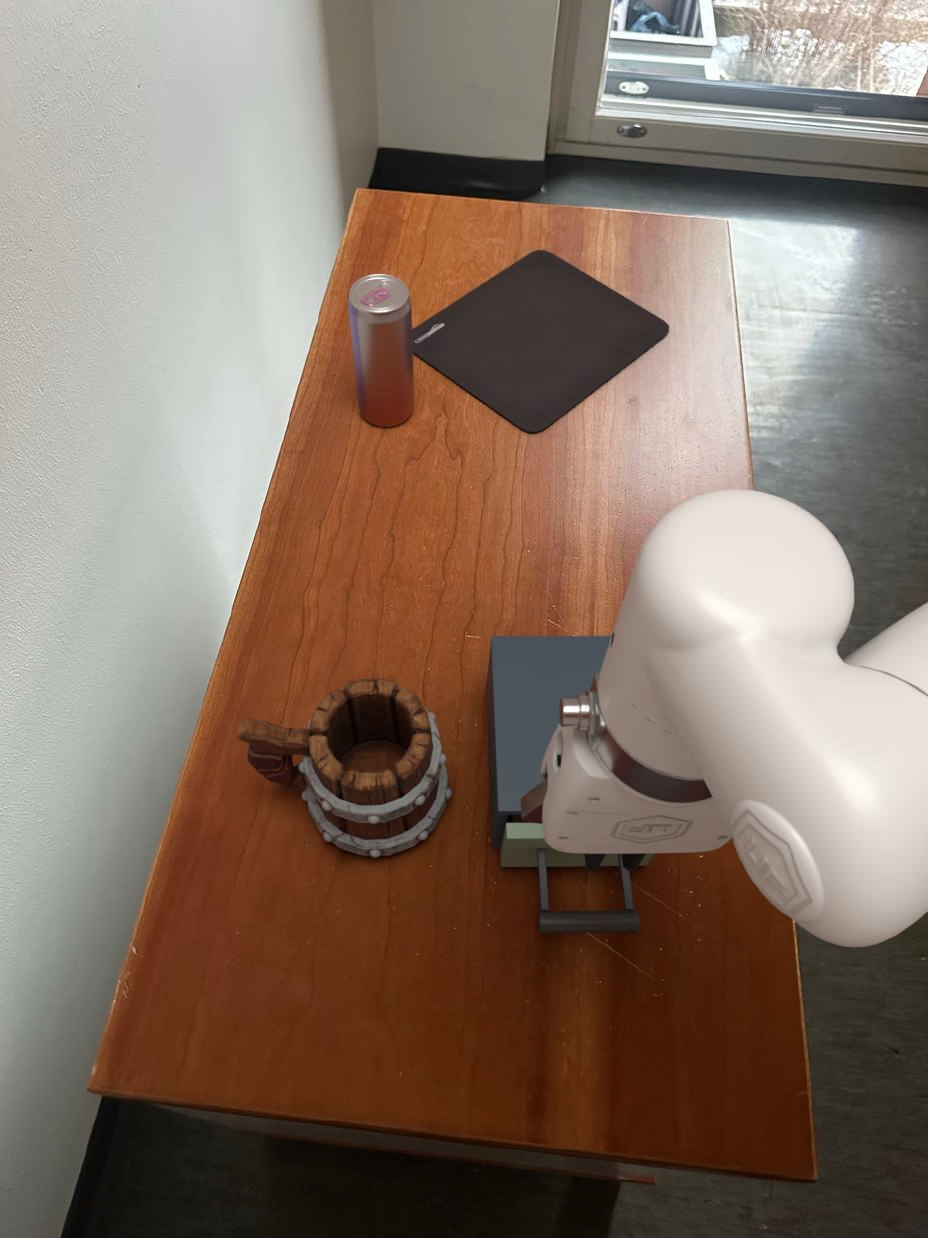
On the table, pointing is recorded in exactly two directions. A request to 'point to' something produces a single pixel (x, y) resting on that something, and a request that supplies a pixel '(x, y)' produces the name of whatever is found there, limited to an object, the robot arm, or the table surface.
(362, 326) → the beverage can
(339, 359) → the table surface
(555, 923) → the drawer
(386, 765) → the mug
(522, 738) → the cabinet
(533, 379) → the mouse pad
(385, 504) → the table surface
